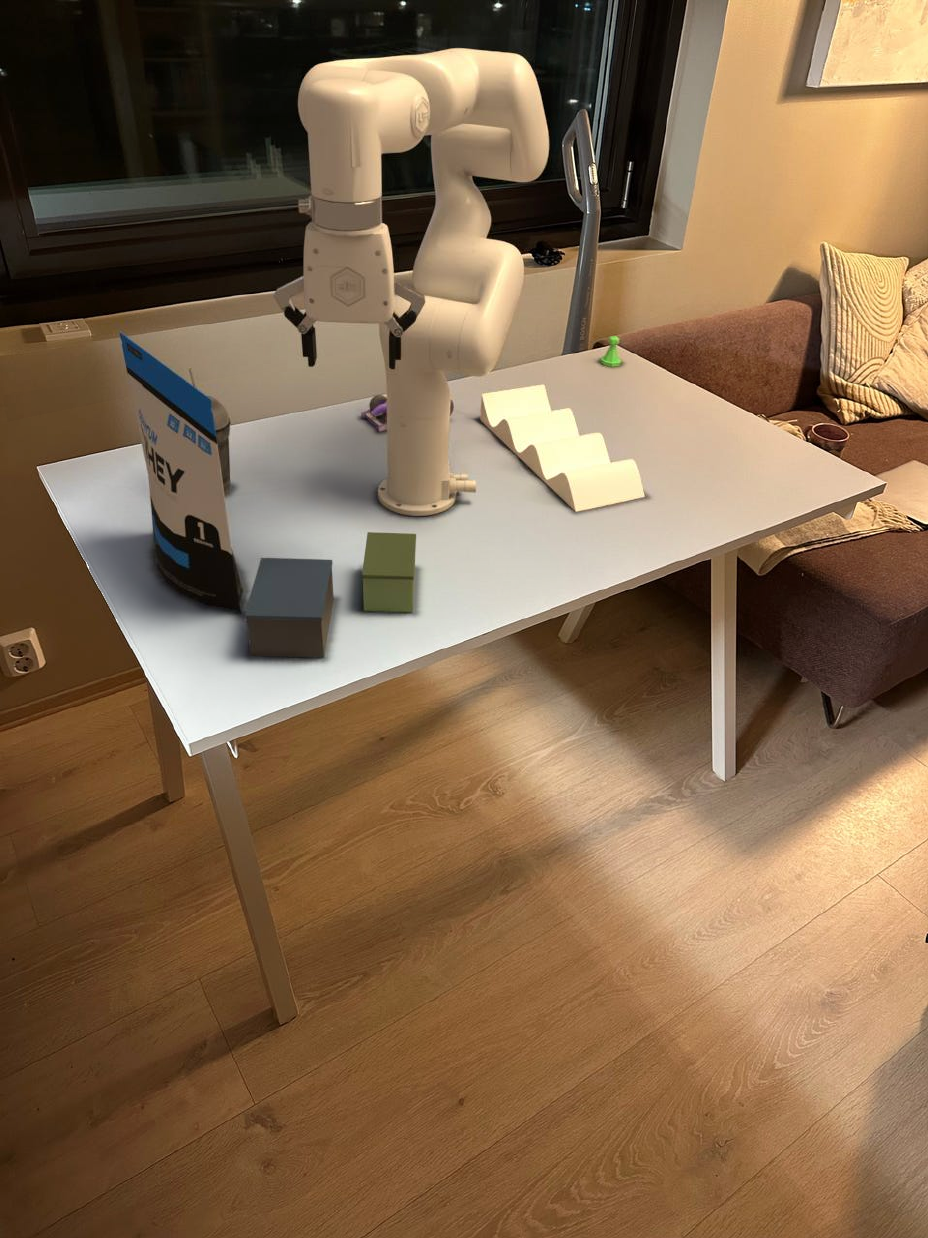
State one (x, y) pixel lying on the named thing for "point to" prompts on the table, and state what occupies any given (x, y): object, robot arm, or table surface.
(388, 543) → the olive green rectangular box
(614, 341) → the game piece
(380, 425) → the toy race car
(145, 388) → the protein powder
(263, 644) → the storage box
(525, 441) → the cream wavy block
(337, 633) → the table surface
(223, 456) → the beverage cup
